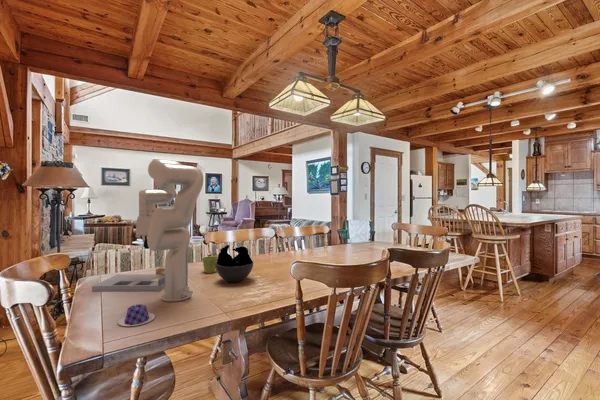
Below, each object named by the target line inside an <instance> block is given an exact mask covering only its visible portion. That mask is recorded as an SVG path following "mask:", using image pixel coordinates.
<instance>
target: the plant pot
mask: <svg viewBox="0 0 600 400" xmlns="http://www.w3.org/2000/svg"><path fill="white" fill-rule="evenodd" d="M217 258H218V256H214V255H213V256H211V255H210V256H203V257H201V260H202V264H203V270H204V273H205V274H214V273H216V267H215V263H216V262H217Z"/></svg>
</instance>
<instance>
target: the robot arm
mask: <svg viewBox="0 0 600 400" xmlns="http://www.w3.org/2000/svg"><path fill="white" fill-rule="evenodd" d="M147 171H148V172H147V173H148V175H149V177H150V178H151V179H153V181H154V185H155V186H156V188H157V189H156V188H155V189H154V188H153V189H152V188H151V189H150V188H149V189H148V188H147V189H141V190H139V192H138V216H137V218H136V224H135V225H136V226H135V227H136V228H135V233H136V238H140V239H141V240H142V242H143V249H146V250H147V249H149V250H151V251H153V252H158V251H159V252H161V251H167V250H168V252H167V254H166V255H165V259H164V266H165V288H164V293H163V294H161V296H160V299H161V301H163V302H168V303H169V302H180V301H181V302H182V301H185V300H187V299H189V298H191V297H192V295H193V293H194V292H193V290H190V286H188V285H189V283H188V280H189V279H188V277H189V273H188V272H189V270H188V269H189V264H188V263H189V246H190V242H191V234H190V233H191V232H190V231H189V230H188V228H186V227H189V225H190V224H191V222H192V219H193V216H194V215H193V214H194V211H195V208H196V203H197V199H198V197H199V195H200V193H201V192H202V189H203V186H204V175H203V174H204V173H203V172H202V169H200V168H198V167H196V166H193V165H185V164H182V163H181V162H179V161H177V160H169V159H160V158H159V159H158V158H156V159H152V160H151V161H150V163H149V164H148V167H147ZM175 185H176V186H178V185H179V186H184V187H183V188H181V189H180V190H179V191H178V192H177V194H176V186H175ZM172 200H174V203H173V205H169V206H168V205H166V204H168V203H171V202H172ZM156 205H162V206H158V207H156ZM163 205H165V206H163Z"/></svg>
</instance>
